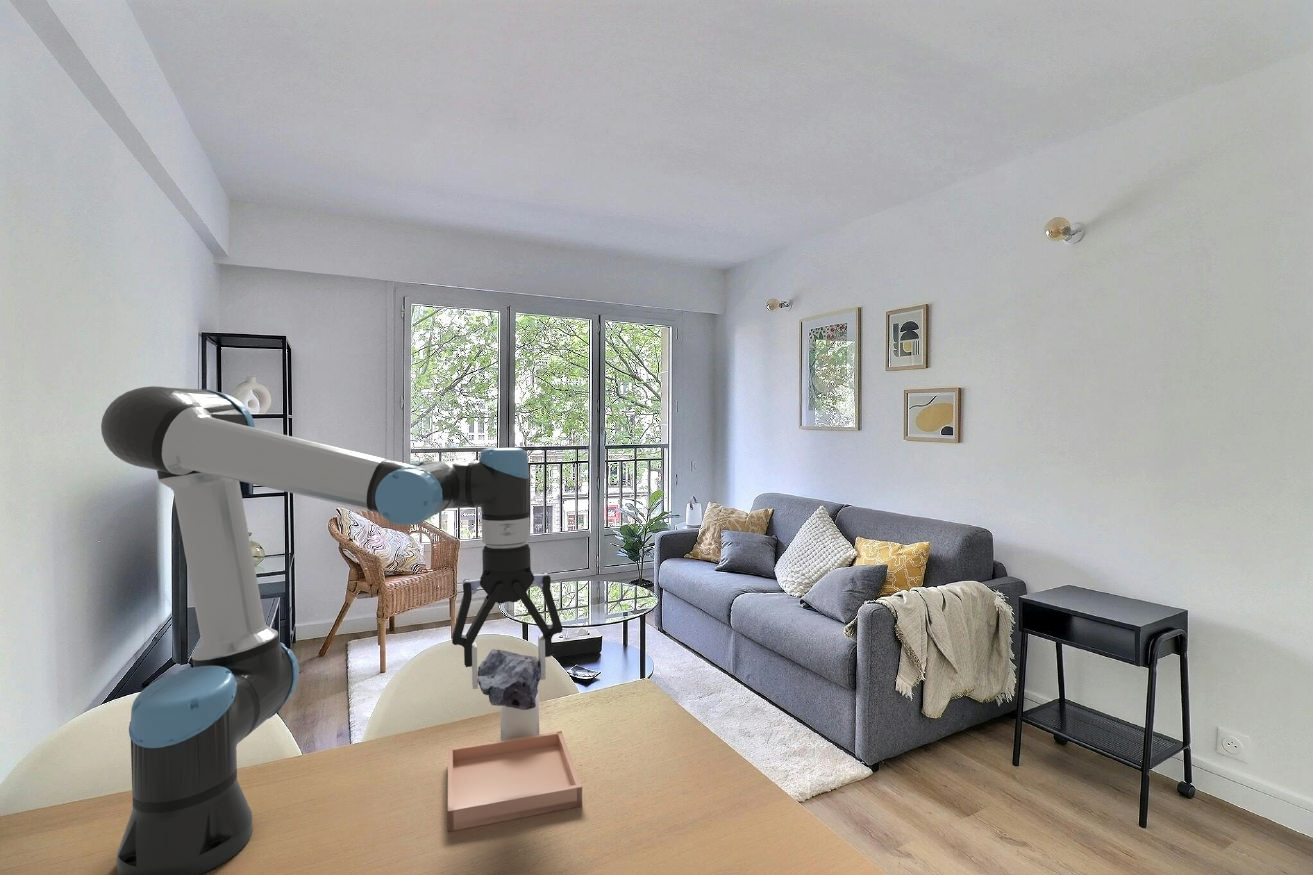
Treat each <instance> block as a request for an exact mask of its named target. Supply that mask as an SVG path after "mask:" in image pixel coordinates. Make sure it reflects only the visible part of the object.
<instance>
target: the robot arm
mask: <svg viewBox="0 0 1313 875" xmlns="http://www.w3.org/2000/svg"><path fill="white" fill-rule="evenodd" d="M100 430H101V436H102V439H103V441H104V443H105V445H106V447H107V448H108V450H109V451H110V452H111V453H112V454H113V455H114V456H115V457H117V458H118V459H120V460H121V461H122V462H125V463H127V464H130V465H132V466H134V467H139V468H143V469H144V468H145V469H150V470H154V471H156V473H157V479H158V482H159V483H161V484H162V485H164V486H166V487H167V488H169V489H171V491H173V497H174V502H175V508H176V513H177V518H178V522H179V528H180V536H181V540H182V545H183V551H184V556H185V559H186V560H185V561H186V566H187V572H188V577H189V578H188V579H189V582H190V587H191V588H190V589H191V593H192V599H193V603H194V609H195V610H194V611H195V614H196V620H197V624H198V631H199V635H200V644H199V645H198V647H197V648H196V649H195V650H194V651H193V653H192V655H191V660H192V664H193V667H191V668H185V669H182V670H180V671H179V672H177V673H174V674H173V673H172V674H167V675H165V676H163V677H161V678H159V679H157V680H155V681H153V682H152V683H150V684H149V685H148V686H146V687H145V688H143V689H142V691H140V693H139V694H138V695H137V696H136V697H135V698H134V700H133V702H132V705H131V709H130V710H131V711H130V721H129V725H128V734H129V739H130V754H131V755H130V760H131V763H130V764H131V793H132V808H131V813H130V816H129V819H128V822H127V825H126V827H125V831H124V832H123V836H122V839H121V842H120V844H119V847H118V849H117V854H116V875H203V874H206V873H207V872H210V871H212V870H213V869H215V868H217V867H219V866H221V865H222V864H224V863H226V862H227V861H228V860H230V859H231V858H233V857H234V856H235V855H237V854H238V853H239V852H240V851H242V849H243V848H244V847H245V846H246V845H247V843H249V841H250V839H251V837H252V834H253V828H254V827H253V814H252V813H253V812H252V809H251V807H250V806H249V803H248V801H247V799H246V796H245V794H244V792H243V790H242V788H241V785H240V783H239V781H238V765H237V764H238V762H237V760H238V758H237V752H238V751H237V746H238V744H239V743H240V742H242V740H244V739H245V738H247V737H248V736H249V735H250V734H252V732H254V731H255V730H256V729H257V728H258V727H260V726H261V725H262V724H264V723H265V722H266V721H267V720H269V719H271V718H273V717H274V715H276V714H277V713H278V712H279V711H280V710H281V709H282V708H283V707H284V705H285V704H286V703H287V701H289V699H291V697H292V696H293V694H294V693H295V691H296V688H297V685H298V681H299V677H300V667H299V661H298V660H297V657H296V655H295V654H294V652H293V651H292V649H290V648H287V647H286V644H285V643H283V642H281V641H280V636H279V632H278V630H276V629H274V628H272V627H270V626H268V625H267V624H266V622H265V621H266V620H265V616H264V611H263V604H262V599H261V594H260V589H259V583H258V577H257V571H256V566H255V561H254V555H253V550H252V545H251V539H250V534H249V528H248V524H247V518H246V513H245V512H246V511H245V507H244V501H243V495H242V490H241V484H240V482H243V483H247V484H252V485H256V486H260V487H264V488H269V489H273V490H278V491H281V492H286V493H291V494H293V495H294V494H295V495H299V496H303V497H307V498H311V499H317V500H321V501H326V502H331V503H334V504H338V505H341V506H342V505H343V506H347V507H351V508H352V507H353V508H356V509H360V510H364V511H369V512H373V513H376V514H380V515H381V516H382V517H383V518H384V519H386V520H387V521H388V522H390V523H391V524H395V525H398V526H407V525H408V526H409V525H417V524H420V523H423V522H425V521H427V520H429V519H430V518H432V517H433V516H434V515H436V514H439V513H441V512H443V511H445V510H447V509H465V508H469V509H474V508H475V509H476V508H480V509H481V541H482V542H481V543H483V544H485V545H484V546H483V547H482V548H481V549H482V550H481V551H482V552H481V553H482V554H481V555H482V574H481V576H480V578H478V579H469V578H465V579H463V581H462V592H463V595H462V598H461V602H460V606H459V610H458V612H457V617H456V620H455V624H454V628H453V630H452V635H451V643H452V645H454V646H461V647H463V651H464V652H463V654H464V655H463V656H464V657H463V658H464V659H463V660H464V667H465V668H470V667H471V683H472V690H477V689H479V688H478V687H479V684H478V646H477V642H476V641H475V640H476V639H477V637H478V635H479V633H480V631H481V629H482V627H483V626H484V624H485V621H486V620H487V618H488V616H489V614H490V613H491V611H492V609H493V608H494V606H495V604H499V605H500V604H505V603H518V602H519V601H521V602H522V604H523V605H524V607H525V609H526V610H527V611H528V613H529V615H530V616H531V618H532V619H533V621H534V622H535V624H536V625H537V627H538V629H539V630H540V632H541V633H542V634H538V635H537V641H538V643H537V645H538V648H537V652H538V656H537V658H538V660H539V661H540V662H541V666H540V668H539V671H540V675H541V679H540V680H541V681H542V680H546V679H547V676H546V674H547V673H546V658H550V657H552V654H553V653H552V652H553V651H552V650H553V649H552V648H553V647H552V646H553V644H552V642H553V641H552V639H553V636H554V635H556V634H561V633H562V632H563V631H564V630H563V626H562V623H561V622H562V621H561V620H560V615H559V613H558V610H557V606H556V603H555V599H554V598H553V593H552V590H551V583H552V582H551V578H552V577H551V576H550V574H549V573H548V572H545V571H544V572H542V573H535V574H534V573H533V572H532V567H531V566H532V564H531V560H532V559H531V545H530V544H529V543H528V542H529V541H530V540H531V533H530V532H531V528H530V474H529V473H530V472H529V459H528V458H529V457H528V453H527V451H526V450H525V449H523V448H521V447H493V448H492V447H491V448H489V447H488V448H483V449H482V450H481V451H480V453H479V454H480V457H479V458H478V460H471V461H470V460H469V461H462V460H461V461H458V460H457V461H451V460H450V461H449V460H445V461H441V460H439V461H438V460H437V461H435V460H434V461H432V460H425V461H424V460H423V461H416V462H413V461H412V462H409V463H405V462H400V461H397V460H392V459H391V460H390V459H388V458H384V457H379V456H375V455H370V454H366V453H362V452H358V451H354V450H349V449H345V448H343V447H342V448H340V447H336V446H332V445H330V444H329V445H328V444H324V443H319V442H315V441H311V440H307V439H304V438H300V437H295V436H292V435H291V436H290V435H287V434H283V433H282V434H281V433H278V432H273V431H270V430H264V429H262V428H257V427H256V425H255V422H254V419H253V416H252V414H251V412H250V411H249V409H248V408H247V407H246V406H245V405H244V403H243V402H241V400H238V399H237V398H235V397H233V396H232V395H229V394H226V393H223V392H219V391H215V390H212V389H207V388H201V389H197V388H183V387H182V388H179V387H178V388H177V387H166V386H153V385H152V386H144V387H138V388H134V389H131V390H129V391H126V392H124V393H123V394H120V395H118V396H117V397H116V398H115V399H113V401H112V402H111V403H110V404H109V405H108V407H106V409H105V412H104V414H103V415H102V418H101V422H100ZM534 582H535V583H536V586H537V587H538V588H539V589H541V592H542V595H543V596H542V597H543V599H544V601H545V605H546V608H547V611H548V614H549V618H550V620H551V624H550V625H548V624H547V623H546V621H545V619H544V618H543V617H542V614H541V613H540V611H539V610H538V608H537V606H535V603H534V602H533V601H532V599H531V597H530V596H529V594H528V590H529V589H530V588H531V587H532V584H533V583H534ZM480 587H481V589H482V590H483V591H484V592H485V593H486V596H485V598H484V600H483V602H482V604H481V606H480V609H479V610H478V612H477V614H476V615H475V617H474V619H473V621H472V623H471V625H470V627H469V629H468V630H467V632H466V634H465V635H464V634H463V632H464V630H465V629H464V628H465V626H466V621H467V618H468V613H469V610H470V606H471V603H472V598H473V596H472V595H474V594H476V593H477V592H478V591H477V590H478V589H479V588H480Z"/></svg>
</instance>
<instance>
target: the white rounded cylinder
mask: <svg viewBox="0 0 1313 875" xmlns="http://www.w3.org/2000/svg"><path fill="white" fill-rule="evenodd" d="M535 701H536V707H534V708H532V709H529V710H521V709H517V708H512V707H506V706H500V740H507V739H513V738H520V737H526V736H533V735H539V734H540V694H539V692H538V693H537V695H536V698H535Z"/></svg>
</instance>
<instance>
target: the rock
mask: <svg viewBox="0 0 1313 875" xmlns="http://www.w3.org/2000/svg"><path fill="white" fill-rule="evenodd" d="M540 666H541V662H540V661H539V658H538V656H537V657H536V655H524V654H519V653H517V652H511V651H507V650H501V649H496V648H492V649H491V650H490V651H489V653H488V654H487V656H486V657H485V659H483V660H482V661H481V663H480V664H479V666H477V675H478V687H479V688H480V690H481V693H482V694H483V695H485V696H488V701H489V703H490V705H491V706H496V707H499V706H500V707H501V706H506V707H512V708H517V709H521V710H529V709H532V708H534V707H536V701H535V698H536V695H537V693H539V691H538V690H539V689H538V686H539V683H540V680H541V675H540V671H539V668H540Z"/></svg>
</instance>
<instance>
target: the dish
mask: <svg viewBox="0 0 1313 875" xmlns="http://www.w3.org/2000/svg"><path fill="white" fill-rule="evenodd" d="M579 807H583V785H582V782H581V780H580V776H579V774H578V771H577V769H576V767H575V764H574V761H573V759H572V756H571V752H570V750H569V747H568V745H567V742H566V740H565V737H564V733H563V732H562V730H560V731H554V732H553V731H552V732H548V733H541V734H540V733H539V735H533V736H526V737H520V738H513V739H507V740H501V739H500V740H496V741H495V740H494V741H488V742H483V743H476V744H467V745H463V746H461V745H460V746H456V747H450V748H447V832H455V831H459V830H463V829H469V828H474V827H479V826H484V825H490V824H497V823H500V822H505V821H512V820H516V819H517V820H518V819H521V818H526V817H532V816H536V815H537V816H538V815H543V814H549V813H553V812H559V811H562V810H569V809H573V808H579Z"/></svg>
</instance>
